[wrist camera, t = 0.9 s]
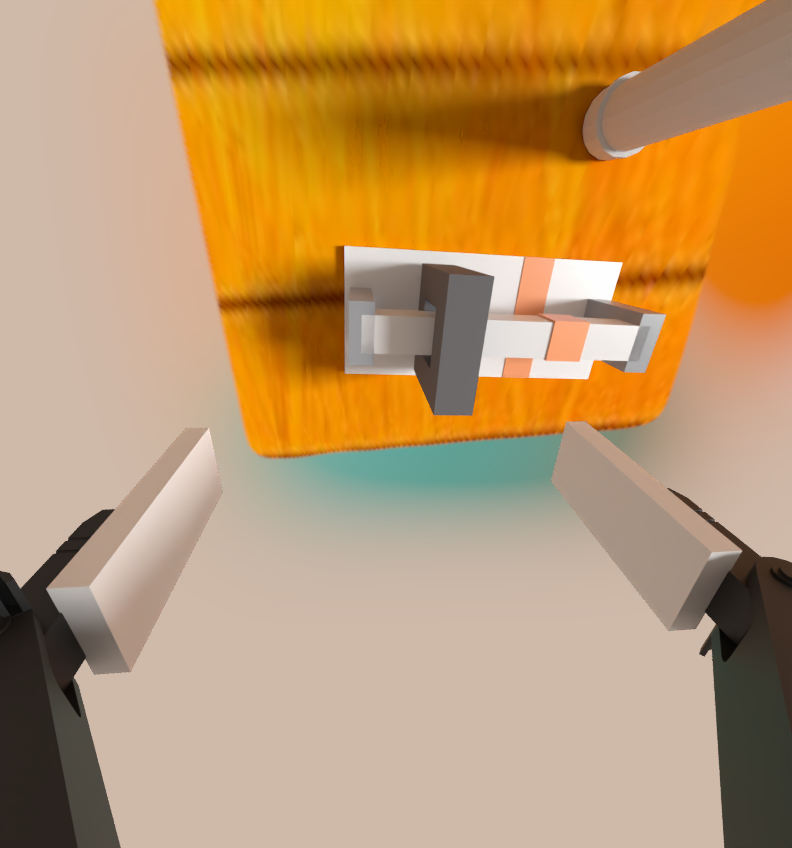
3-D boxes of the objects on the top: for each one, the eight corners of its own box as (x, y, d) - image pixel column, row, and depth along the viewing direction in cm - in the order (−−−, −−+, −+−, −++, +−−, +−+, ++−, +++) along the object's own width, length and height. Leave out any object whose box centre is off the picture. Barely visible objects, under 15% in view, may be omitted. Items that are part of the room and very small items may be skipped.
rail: (344, 245, 35) (341, 248, 26) (617, 262, 38) (690, 269, 29) (344, 370, 40) (342, 405, 32) (584, 376, 43) (637, 409, 35)
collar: (422, 263, 34) (449, 274, 24) (454, 265, 34) (494, 276, 25) (413, 369, 38) (433, 415, 29) (442, 370, 39) (472, 415, 29)
